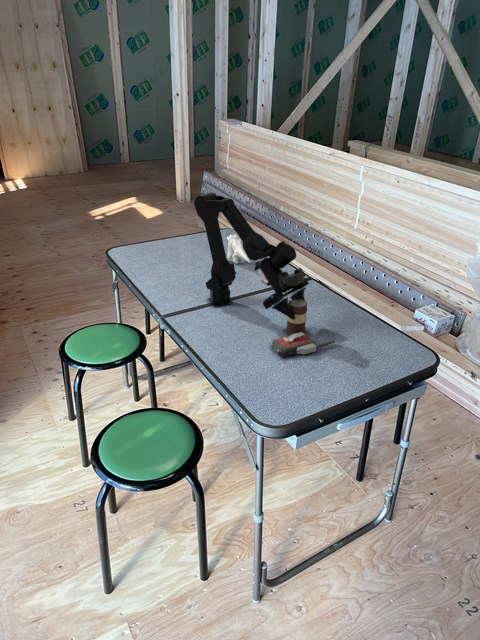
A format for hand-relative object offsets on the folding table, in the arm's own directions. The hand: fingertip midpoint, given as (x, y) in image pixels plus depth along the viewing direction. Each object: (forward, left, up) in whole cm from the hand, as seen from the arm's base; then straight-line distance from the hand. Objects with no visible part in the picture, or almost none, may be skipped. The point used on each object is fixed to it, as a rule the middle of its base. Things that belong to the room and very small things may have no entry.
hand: (300, 315), depth 157 cm
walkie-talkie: (-4, -8, -7) cm, 11 cm away
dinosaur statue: (+6, +64, -7) cm, 65 cm away
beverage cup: (+10, +41, -6) cm, 43 cm away
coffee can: (-1, +1, -7) cm, 7 cm away
